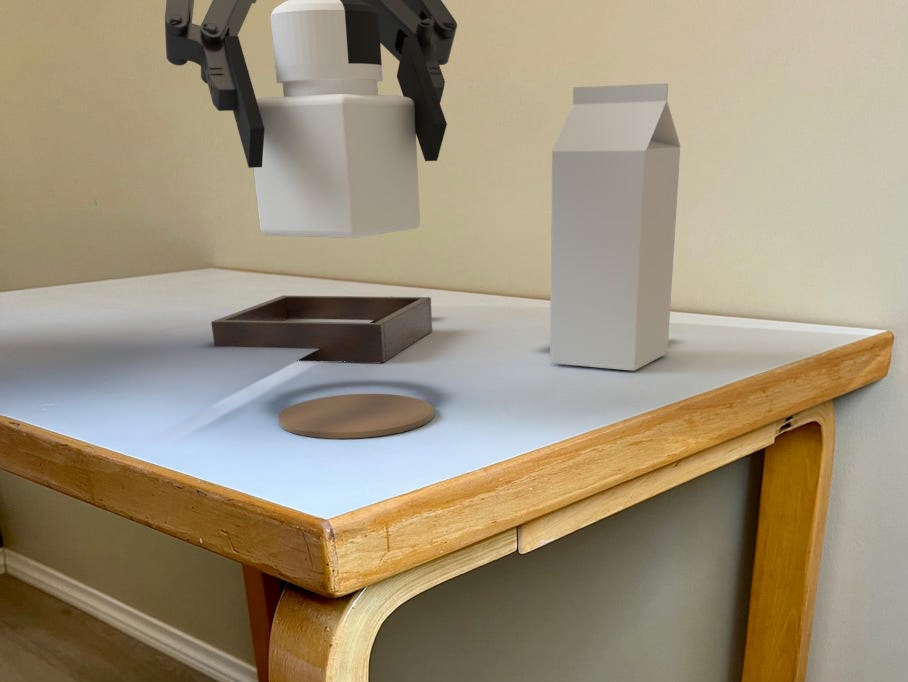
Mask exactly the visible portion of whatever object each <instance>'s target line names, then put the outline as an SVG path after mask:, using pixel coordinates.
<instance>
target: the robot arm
mask: <svg viewBox="0 0 908 682" xmlns="http://www.w3.org/2000/svg"><path fill="white" fill-rule="evenodd" d="M361 1H363V2H365V3H367V4H369V5H370V6H372V7H374V9H375V10H376V11H377V13H378V14H379V28H380V45H381V46H383V47H384V48H385V49H386V50H387V51H388V52H389V53H390V54H391V55H392V57H394V58H395V59H396V60H397V61H398V62H399V63H398V68H397V71H396V78H397V82H398V84H399V88H400V91H401V93H402V94H401V95H402V96H403V97H408V98H411V99H412V100H413V101H414V104H415V124H416V139H417V141H418V144H419V147H420V150H421V153H422V156H423V160H424V161H425V162H437V161H438V160H439V156H440V152H441V148H442V144H443V141H444V136H445V133H446V131H447V130H446V129H447V125H448V123H447V119H446V117H445V114H444V112H443V108H442V105H441V103H442V102H441V101H442V98H443V94H444V90H445V85H446V80H445V77H444V75H443V71H442V69H441V66H445V65H447V64H448V63H449V59H450V55H451V52H452V49H453V44H454V40H455V36H456V32H457V28H458V23H457V21H456V19H455V18H454V17H453V15H452V14H451V12H450V11H449V9H448V8H447V6H446V5H445V4H444V2H443V0H361ZM256 3H257V0H212V1H211V3H210V5H209V7H208V10H207V12H206V13H205V15H204V18H203V20H202V22H201V24H200V25H199V24H196V23H193V17H194V15H193V14H194V7H195V5H194V4H195V0H166V3H165V12H164V32H165V33H164V35H165V36H164V37H165V56H166V59H167V61H168V62H169V63H171V64H172V65H175V66H183V65H187V63H188V62H192V63H195V64H197V65H199V66H200V78H201V80H202V81H203V83H204V84H206V85H207V86H208V91H209V95H210V98H211V101H212V105H213V106H214V107H215V109H216V110H217V111H218V112H231V111H232V112H233V116H234V120H235V123H236V126H237V131H238V135H239V138H240V142H241V146H242V149H243V152H244V156H245V160H246V164H247V167H248V168H249V169H251V168H252V169H253V168H254V167H262V160H263V145H264V129H265V128H264V125H263V121H262V118H261V114H260V111H259V107H258V104H257V100H256V99H257V97H256V94H255V90H254V86H253V82H252V79H251V75H250V73H249V69H248V66H247V62H246V59H245V58H246V57H245V55H244V50H243V48H242V44H241V41H240V36H239V33H240V32H241V29H242V26H243V25H244V23H245V20H246V18H247V16H248V13H249V12H250V9H251V7H252V5H253V4H256Z"/></svg>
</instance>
